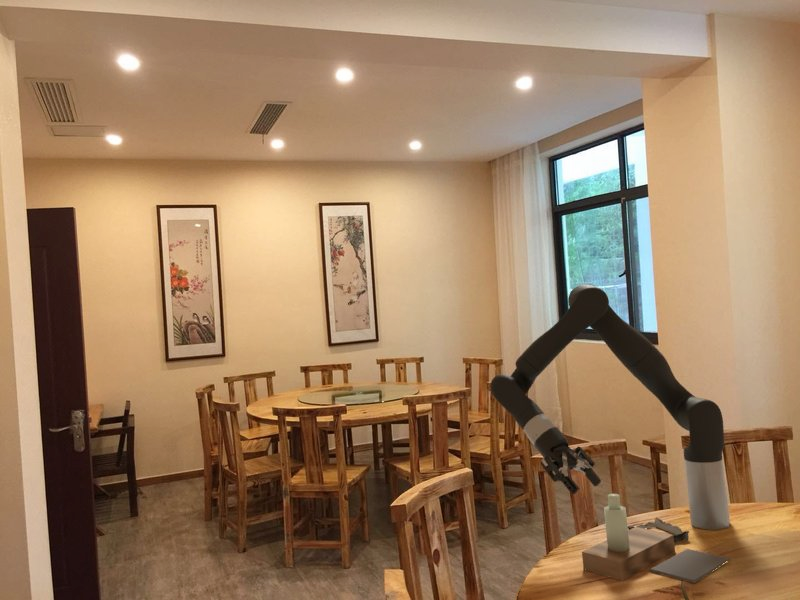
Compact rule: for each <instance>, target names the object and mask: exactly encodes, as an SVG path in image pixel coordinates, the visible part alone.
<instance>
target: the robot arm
mask: <svg viewBox="0 0 800 600" xmlns="http://www.w3.org/2000/svg"><path fill="white" fill-rule="evenodd" d="M567 301H568V309H567V311H566V312H565V313H564V315H562V317H561V318H560V319H559V320H558V321H557V322H556V323H555V324H554V325H553V326H552V327H550V328H549V329H548V330H547V331H545V332H544V333H542V335H540V336H538V337H537V339H535V340H534V341H533V342H532V343H531V344H530V345H529V346H528V347H527V348H525V350H524V352H522V354H521V355H520V356H519V357H518V358H517V360H516V361H515V367H516V368H515V369H514V370H513V372H512V373H511V374H510V375H509V374H507V373H500V374H497V375H495V376H494V377H493V378H492V380H491V381H490V386H489V387H490V391H491V394H492V396H493V397H494V399H495V400H496V401H497V402H498V403H499V404H500V405H501V406H502V407H503V408H504V409H505V410H506V411H507V412H508V413H509V415H511V416H512V417H513V419H514V421H516V423H517V425H518V426H519V427H520V428H521V429H522V431H523V432H524V434H525V435H526V437H527V438H528V440H529V441H530V442H531V444H532V445H533V446H534V448H535V449H536V450H537V452H538V453H540V455H541V456H542V459H541V461H540V465H541V466H542V468H543V469H544V470H545V472H546V474H547V475H548V476H549V478H550V479H551V481H553V482H554V483H556V482H557V481H558V482H560V483H562V484H563V485H564V486H565V487H566V489H567V490H568V491H569V492H570V493H571V494H572V495H574V494H577V493H578V492H579V490H580V488H579V485H577V484H576V482H575V481H574V480H573V478H572V477H571V476H569V472H568V471H569V470H574V471H578V472H581V473H583V475H584V476H585V477H586V478H587V479H588V480H589V482H590V483H591V484H592V485H593V486H594V487H597V486H598V485H600V483H602V482H601V481H602V480H601V479H600V477H599V476H598V474H597V473H596V472H595V471H594V470H593V467H594V466H595V465H596V464H595V461H594V460H593V459H592V458H591V457H590V456H589V455H588V453H586V451H584V449H583V448H582V447H581V446H580V445H579V446H577V447H575V449H572V448H571V447H570V446H569V440H568V438H567V437H566V436H565V434H563V432H562V431H561V430H560V428H558V426H557V425H556V424H555V423H554V422H553V420H551V418H550V417H549V416H547V415H546V413H544V411H543V410H542V409H541V408H540V406H539V405H538V404H537V403H536V402H535V401H534V400H532V399H531V398H530V397H529V396H528V395H527V394H528V393H529V391H530V389H531V387H532V386H533V384H534V382H535V381H536V379H537V377H538V376H539V375H541V373H543V371H544V370H545V369H546V368H548V367H549V365H550V364H551V363H553V361H554V360H555V359H556V358H557V357H558V356H559V355H560V353H561V352H562V351H563V350H565V348H566V347H567V346H568V345H569V344H571V342H573V341H574V340H575V339H576V338H578V336H579V335H580V334H582V333H583V332H584V331H586V330H587V329H588V328H591V329H592V330H593V331H594V332H595V333H596V334H597V335H598V336H599V337H600V338H601V340H602V341H603V342H604V343H605V345H606V346H607V347H608V348H609V350H610V351H611V352H612V353H613V354H614V356H615V357H616V358H617V359H618V360H619V361H620V363H621V364H622V365H623V366H624V367H625V368H626V369H627V370H628V371H629V372H630V373H631V374H632V376H634V377H635V378H636V379H637V380H638V381H639V382H640V383H641V384H642V386H644V388H646V389H647V390H648V391H649V392H650V393H652V394H653V396H655V397H656V398H657V400H659V402H660V403H661V405H662V406H663V407H664V408H665V409H666V411H667V412H668V413H669V414H670V416H671V417H672V418H673V420H674V421H675V422H676V424H678V426H679V427H681V428H683V429H685V431H688V432H689V444H688V445H687V446H685V447H684V448H683V459H684V467H685V468H684V469H685V470H684V471H685V477H686V488H687V499H688V504H689V505H688V506H689V507H688V508H689V517H690V524H691V525H692V526H693V527H694V528H697V529H702V530H709V531H710V530H712V531H713V530H715V531H717V530H724V529H727V528H729V527H730V522H731V520H730V513H729V503H728V492H727V487H726V478H725V469H724V461H723V451H724V449H725V431H724V421H723V420H724V417H723V413H722V411H721V408H720V406H719V405H718V404H717V403H716V402H714V401H713V400H711V399H706V398H701V397H697V396H695V395H693V394H692V393H691V392H690V391H688V390H687V388H685V387H684V386H683V385H682V384H681V382H679V380H677V378H676V376H675V375H674V373H673V372H672V371H673V370H672V369H671V366H670V365H669V362H668V360H667V359H666V357H665V356H664V355H663V353H662V352H661V351H660V350H659V349H658V348H657V347H656V346H655V345H654V344H653V343H652V342H651V341H650V340H649V339H648V338H647V337H645V336H644V335H643V334H642V333H641V332H639V331H638V330H637V329H636V328H634V327H633V326H632V325H630V324H629V323H628V322H627V321H625V320H624V319H623V318H621V316H619V315H618V314H617V313H616V312H615V311H614V310H613V308H612V306H610V300H609V297H608V294H607V293H606V292H605V291H604V290H603V289H602V288H599V287H597V286H595V285H592V284H580V285H577V286H575V287H574V288H572V289H571V290H570V293H569V295H568V299H567ZM586 461H587V462H586Z"/></svg>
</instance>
